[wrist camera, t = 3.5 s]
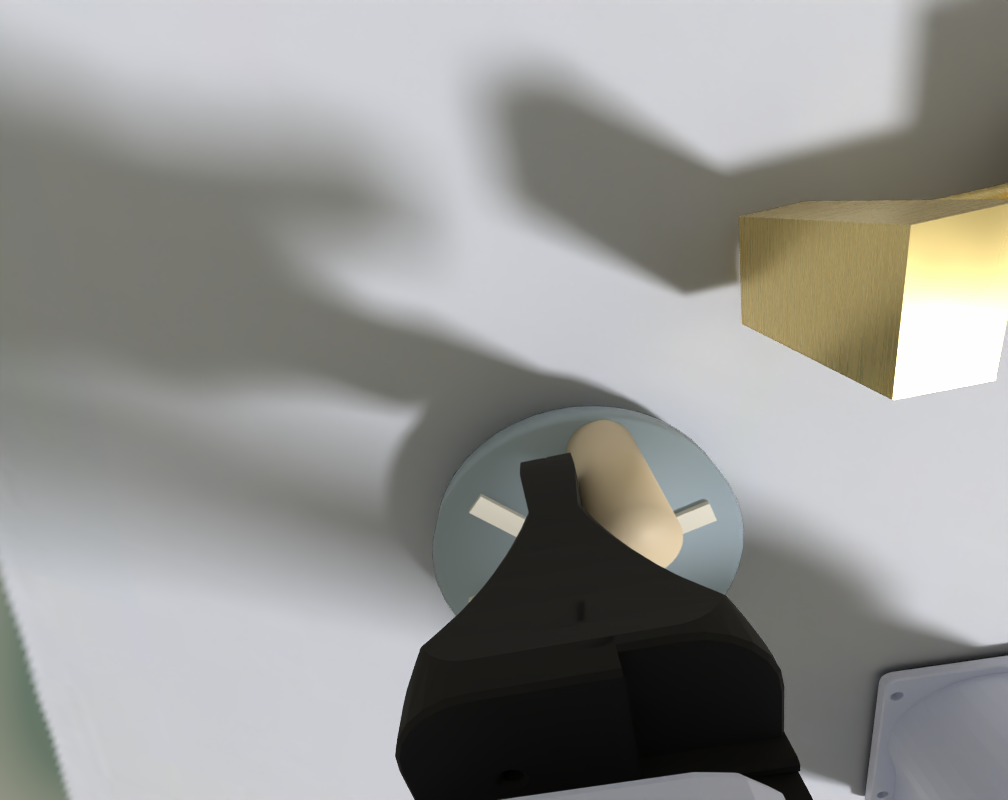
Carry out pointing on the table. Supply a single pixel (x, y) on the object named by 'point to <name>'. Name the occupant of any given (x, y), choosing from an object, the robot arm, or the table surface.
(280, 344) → the table surface
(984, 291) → the hook rod
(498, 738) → the robot arm
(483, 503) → the handwheel
